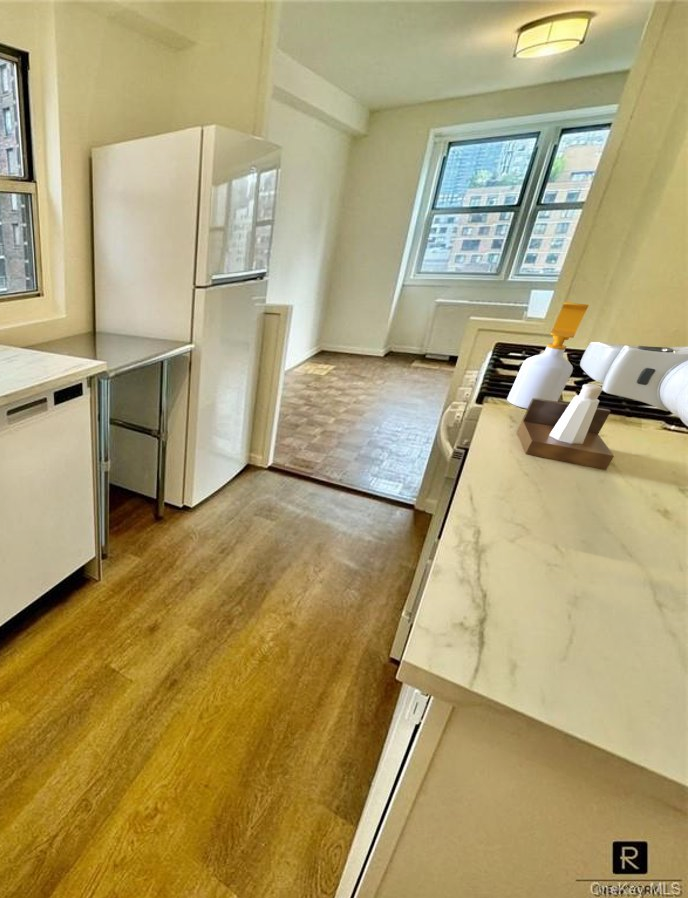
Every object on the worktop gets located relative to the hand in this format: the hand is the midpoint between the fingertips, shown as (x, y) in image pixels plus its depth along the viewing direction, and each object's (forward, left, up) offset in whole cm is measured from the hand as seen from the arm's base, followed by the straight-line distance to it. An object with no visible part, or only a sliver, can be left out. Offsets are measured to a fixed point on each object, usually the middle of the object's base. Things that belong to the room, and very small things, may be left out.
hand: (664, 354), depth 71 cm
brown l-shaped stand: (0, -20, -25) cm, 32 cm away
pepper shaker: (0, -19, -22) cm, 29 cm away
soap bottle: (+1, -47, -25) cm, 53 cm away
